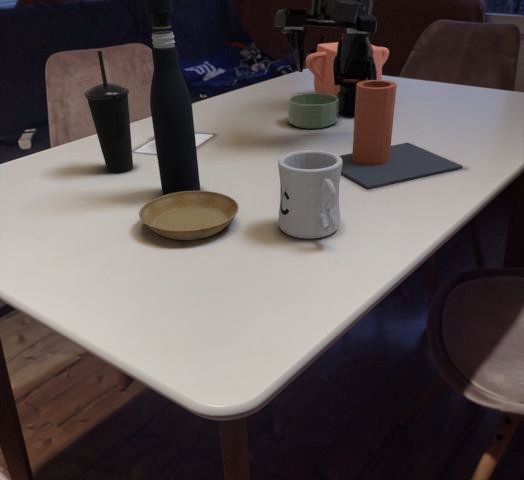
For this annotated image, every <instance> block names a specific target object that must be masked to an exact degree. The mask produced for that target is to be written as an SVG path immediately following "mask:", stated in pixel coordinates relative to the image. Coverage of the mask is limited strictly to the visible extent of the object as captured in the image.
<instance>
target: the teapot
mask: <svg viewBox="0 0 524 480" xmlns="http://www.w3.org/2000/svg"><path fill="white" fill-rule="evenodd" d="M338 43H339V41H337V42H326V43H318V44H317V46H316V52H313V53H310V54H308V55H306V58H305V64H306V68H307V69H308V70H309V71H310V73H311V74H312V75H313V86H314V88H313V89H314V93H325V94H331V95H334V96H337V97H338V92H340V85H335V84H334V71H333V63H334V59H335V56H337V47H338ZM371 46H372V49H373V58H374V61H375V65H376V71H377V80H383V66H384V65H385V64H386V62H387V61H388V59H389V55H390V50H389V48H387V47H384V46H377V45H374V44H371ZM366 80H368V78H367V79H366Z"/></svg>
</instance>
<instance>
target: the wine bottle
mask: <svg viewBox="0 0 524 480" xmlns="http://www.w3.org/2000/svg"><path fill="white" fill-rule="evenodd" d="M144 4H145V6H144V7H145V13H146V14H151V23H152V30H154V32H152V33H151V39H152V42H151V43H152V45H153V47H151V56H152V65H153V71H152V77H151V82H150V83H151V84H150V94H149V107H150V108H149V109H150V115H151V122H152V128H153V129H152V130H153V136H154V139H155V144H156V151H157V154H156V158H157V164H158V171H159V172H158V173H159V179H160V186H161V192H162V193H161V194H162V196H164V195H167V194H171V193H177V192H184V191H202V190H201V182H200V181H201V179H200V172H199V163H198V153H197V151H198V150H197V147H196V140H195V133H196V132H195V131H196V130H195V121H194V111H193V101H192V99H191V94H190V91H189V87H188V84H187V82H186V80H185V77H184V74H183V73H182V70H181V68H180V61H179V51H178V47H177V46H176V45H175V44H176V41H175V34H174V32H173V31H169V30H170V29H171V28H172V24H171V19H170V13H173V12H174V10H175V9H174V1H173V0H144Z"/></svg>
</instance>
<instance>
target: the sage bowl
mask: <svg viewBox="0 0 524 480" xmlns="http://www.w3.org/2000/svg"><path fill="white" fill-rule="evenodd" d="M338 109H339V99H338V97H337V96H334V95H331V94H325V93H316V92H308V93H307V92H306V93H299V94H295V95H292V96H290V97H289V98H287V121H288V123H289V124H290V125H293V126H294V127H296V128H300V129H314V130H315V129H325V128H328V127H331V126H333V125H334V124H336V123H337V122H338V121H339V113H338Z"/></svg>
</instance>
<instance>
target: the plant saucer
mask: <svg viewBox="0 0 524 480" xmlns="http://www.w3.org/2000/svg"><path fill="white" fill-rule="evenodd" d="M239 209H240V206H239V203H238V201H236V200H235V199H234V198H233V197H231V196H228V195H227V194H224V193H221V192H215V191H208V190H201V191H184V192H177V193H171V194H167V195H164V196H163V195H161V196H158V197H155V198H153V199H151V200H150V201H148V202H147V203H146V202H145V204H144V205H143V206H141V208H140V210H139V211H138V217H139V219H140V220H141V222H142V223H143V224H144V225H145V226H146V227H147V228H148V229H150V230H152V231H153V232H155V233H156V234H158V235H160V236H161V237H163V238H167V239H169V240H170V239H171V240H176V241H194V240H195V241H196V240H200V239H204V238H209V237H212V236H214V235H217V234H218V233H220V232H222V230H224V229H225V228H227V226H228V225H229V224H230V223H231V222H232V221H233V220H234V218H235V217H236V216H237V214H238V213H239Z"/></svg>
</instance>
